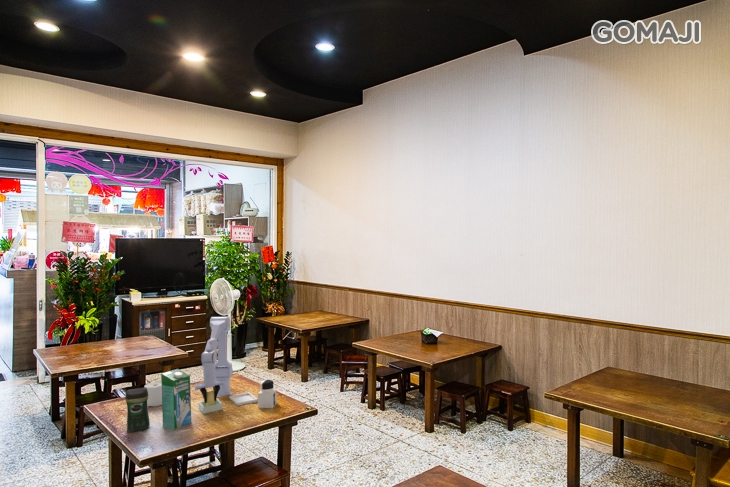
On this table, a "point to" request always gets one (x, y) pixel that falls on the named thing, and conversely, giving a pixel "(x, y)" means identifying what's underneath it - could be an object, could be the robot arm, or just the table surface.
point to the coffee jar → (137, 409)
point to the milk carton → (176, 399)
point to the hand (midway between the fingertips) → (210, 401)
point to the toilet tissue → (154, 393)
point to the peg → (210, 398)
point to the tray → (243, 398)
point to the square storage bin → (210, 408)
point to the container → (267, 395)
